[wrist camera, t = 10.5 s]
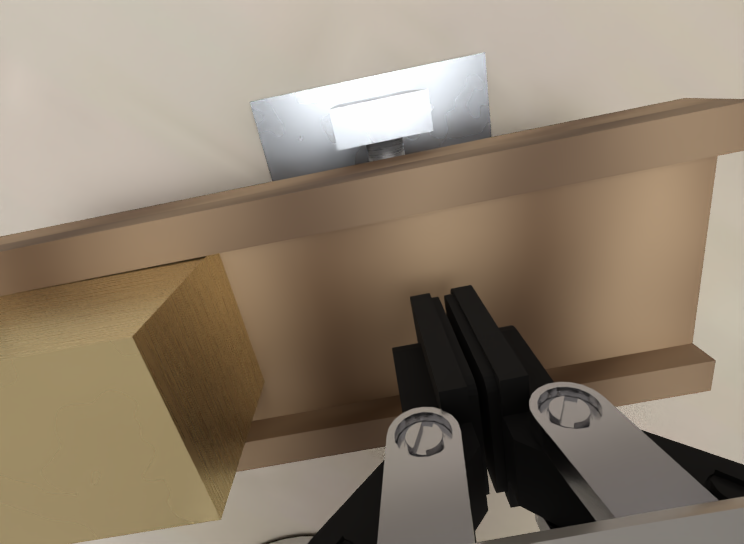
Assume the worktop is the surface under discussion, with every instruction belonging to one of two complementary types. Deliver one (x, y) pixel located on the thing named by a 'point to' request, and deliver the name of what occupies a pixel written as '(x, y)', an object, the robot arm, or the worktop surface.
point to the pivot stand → (375, 117)
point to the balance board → (441, 263)
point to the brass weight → (122, 403)
